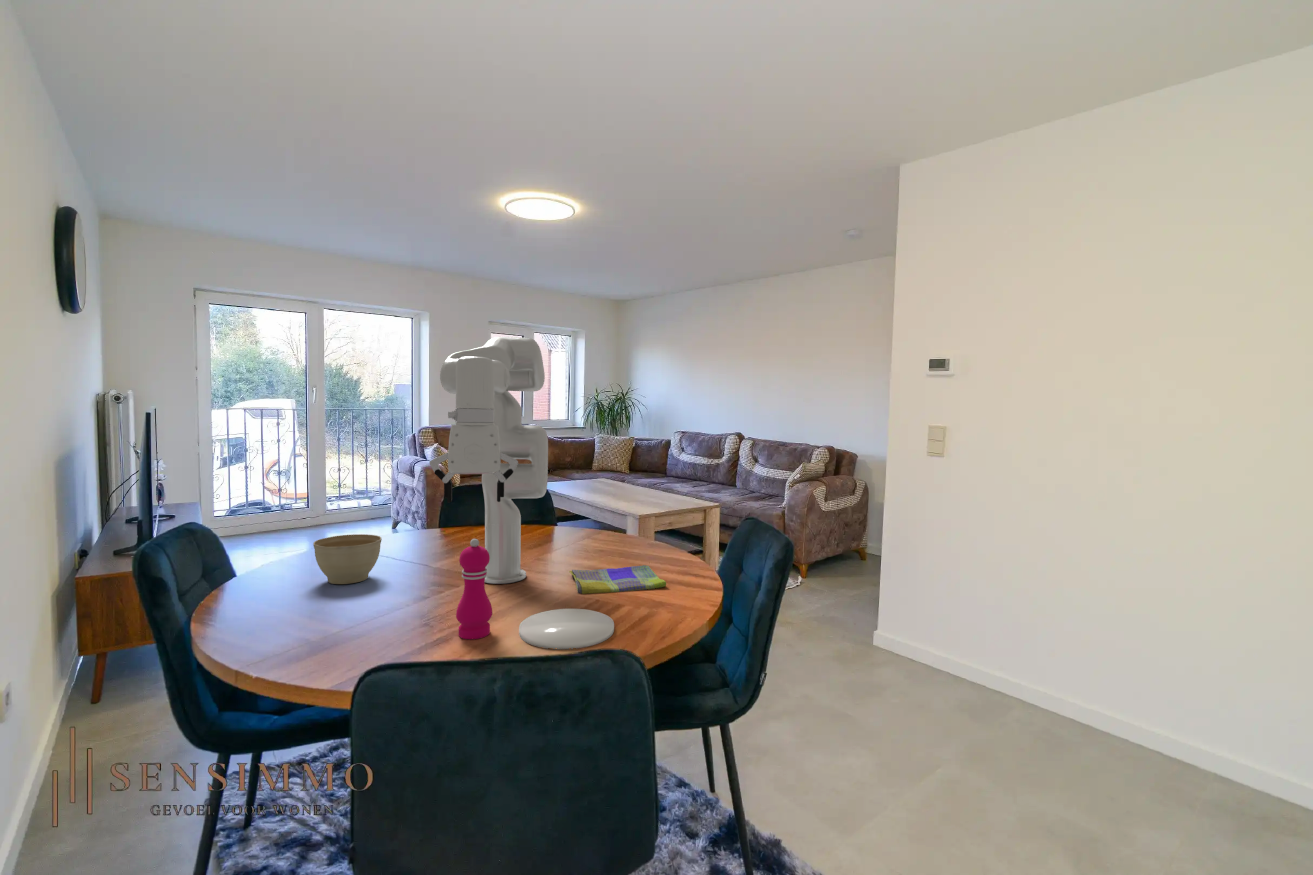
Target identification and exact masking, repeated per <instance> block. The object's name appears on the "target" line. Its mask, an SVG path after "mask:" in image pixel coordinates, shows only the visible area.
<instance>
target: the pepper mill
mask: <svg viewBox="0 0 1313 875" xmlns="http://www.w3.org/2000/svg"><path fill="white" fill-rule="evenodd" d="M469 545H470V546H468V547H466V548H463V549H462V551H461V552H460V554H459V558H458V559H459V560H458V561H459V565H460V566H461V568H463V569H462V570H461V578H462V579H463V581H464V589H463V592H462V595H461V598H460V599H459V603H458V604H457V608H456V614H455V618H456V619H457V621H458V622H459V623H460V625H459V626H458V636H459V638H461V639H464V640H479V639H483V638H485V637H488V635H490V633H491V624H490V622H489V621H490V619H491V618H492V617H493V606H492V603H491V601H490V599H489V596H488V595H487V592H486V587H485V583H486V582H485V577H486V576H487V569H486V568H485V567H486V566H487V565H488V563H489V560H490V556H489V553H488V551H487V550H486V549H485V546H481V545H480V541H479V539H477V538H472V539H471V540H470V543H469Z"/></svg>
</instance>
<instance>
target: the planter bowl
mask: <svg viewBox="0 0 1313 875" xmlns="http://www.w3.org/2000/svg"><path fill="white" fill-rule="evenodd" d="M382 541H383V540H382V537H381V536H379V535H376V534H355V533H354V534H342V535H334V536H329V537H324V538H323V537H322V538H319V539H317V540H315V541H314V542H313V544H312V545H313V548H314V557H315V560H316V563H317V566H318V567H319V569H320V571H321V572H322V573H323V575H325V577H327V582H328V583H329V584H332V585H348V584H355V583H359V582H363V581H365V580H368V578H369V574H370V572H371V571H372V570H373V568H374V567H375V566H376V564H377V561H378V559H379V555H380V552H381V544H382Z"/></svg>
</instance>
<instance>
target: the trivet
mask: <svg viewBox="0 0 1313 875" xmlns="http://www.w3.org/2000/svg"><path fill="white" fill-rule="evenodd" d="M614 632H615V623H614V620H613V619H612V618H611V616H609V615H607V614H604V613H602V612H600V611H596V610H591V609H585V608H558V609H551V610H545V611H541V612H538V613H535V614H531V615H529V616H528V617H525V619H523V620H522V621H521V622H520V623H519V626H518V635H519V637H520V639H521V640H522V641H524V642H525V643H526V644H529V645H530V646H531V645H532V646H534V647H537V648H541V647H543V648H542V649H548V648H553V649H552V650H574V649H573V648H576V649H583V648H587V647H592V646H595V645H598V644H601V643H603V642H605V641H607V640H608V639H609V638H611V637H612V636H613V635H614ZM555 648H557V649H555ZM569 648H571V649H569Z"/></svg>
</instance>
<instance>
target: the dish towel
mask: <svg viewBox="0 0 1313 875" xmlns="http://www.w3.org/2000/svg"><path fill="white" fill-rule="evenodd" d="M569 573H570V574H571V576H572V578H573V579H574V582H575V586H576V590H577V591H576V592H577V594H582V595H584V594H585V595H586V594H604V593H605V594H607V593H622V592H623V593H624V592H633V591H644V590H647V589H648V590H654V589H655V588H656V589H661V588H664V587H666V586H667V581H666V580H664V579H661V578H659V575H657V574H656V573H655V572H654V570H652V568H651V567H650V566H649V565H644V564H643V565H634V566H626V567H618V568H603V569H601V568H600V569H591V570H590V569H571V570H569Z"/></svg>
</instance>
